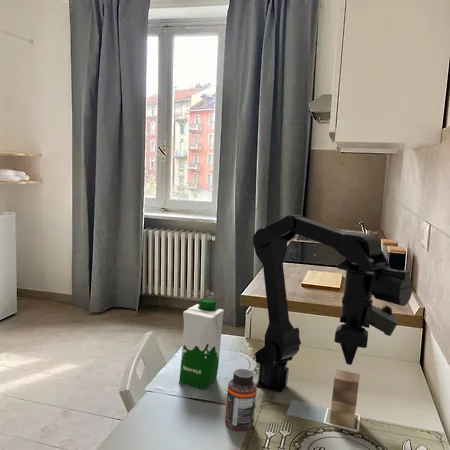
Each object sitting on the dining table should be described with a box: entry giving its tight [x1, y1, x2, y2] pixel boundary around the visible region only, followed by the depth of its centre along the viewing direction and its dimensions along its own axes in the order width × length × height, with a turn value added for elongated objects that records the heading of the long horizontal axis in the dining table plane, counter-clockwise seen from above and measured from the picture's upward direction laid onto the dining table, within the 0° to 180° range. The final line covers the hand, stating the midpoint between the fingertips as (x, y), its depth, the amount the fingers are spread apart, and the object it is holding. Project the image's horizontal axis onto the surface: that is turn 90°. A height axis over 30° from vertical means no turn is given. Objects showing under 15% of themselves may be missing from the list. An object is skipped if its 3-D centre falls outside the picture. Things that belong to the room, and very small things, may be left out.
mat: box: [285, 399, 357, 430], centre depth 101 cm, size 14×7×1 cm, turn 71°
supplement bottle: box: [224, 368, 258, 432], centre depth 94 cm, size 6×6×11 cm
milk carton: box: [178, 297, 225, 391], centre depth 112 cm, size 9×9×20 cm
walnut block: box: [331, 369, 361, 407], centre depth 99 cm, size 5×5×5 cm
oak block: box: [329, 400, 358, 428], centre depth 100 cm, size 5×5×5 cm
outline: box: [322, 407, 361, 433], centre depth 100 cm, size 7×7×1 cm
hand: (349, 363), depth 99 cm, fingers closed
